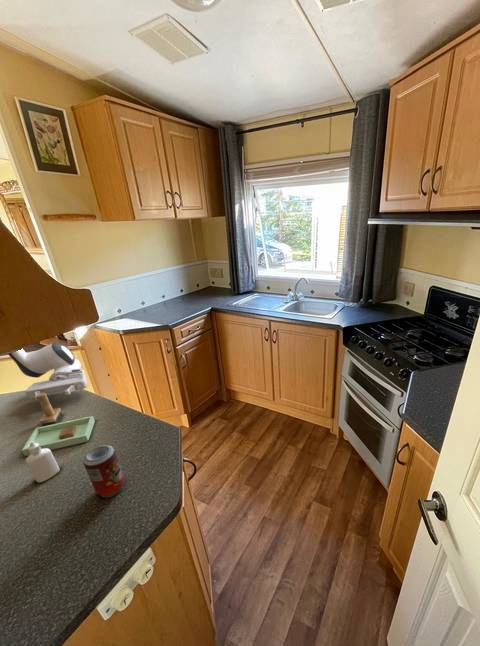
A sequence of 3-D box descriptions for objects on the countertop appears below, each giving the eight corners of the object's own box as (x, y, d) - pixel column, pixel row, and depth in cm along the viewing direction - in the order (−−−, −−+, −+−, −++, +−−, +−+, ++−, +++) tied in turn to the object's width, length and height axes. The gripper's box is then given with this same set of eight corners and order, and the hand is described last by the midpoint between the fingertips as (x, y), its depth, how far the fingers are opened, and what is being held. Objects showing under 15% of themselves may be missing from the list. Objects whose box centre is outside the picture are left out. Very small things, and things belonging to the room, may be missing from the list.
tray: (24, 456, 90) (21, 450, 89) (38, 433, 100) (35, 428, 99) (88, 441, 95) (85, 435, 94) (95, 421, 105) (92, 415, 104)
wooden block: (60, 439, 95) (58, 436, 95) (63, 432, 99) (62, 428, 98) (73, 436, 96) (72, 432, 96) (76, 429, 100) (75, 425, 99)
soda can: (120, 497, 74) (106, 461, 69) (92, 501, 73) (75, 464, 68) (130, 476, 80) (117, 441, 75) (103, 479, 80) (89, 444, 75)
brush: (42, 428, 102) (29, 401, 97) (49, 417, 109) (37, 390, 104) (57, 425, 103) (44, 398, 98) (63, 414, 110) (51, 388, 105)
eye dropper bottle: (37, 474, 83) (20, 441, 78) (60, 466, 85) (45, 433, 80) (34, 484, 79) (16, 451, 74) (59, 476, 81) (42, 443, 76)
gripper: (30, 378, 117) (16, 394, 105) (87, 368, 123) (79, 383, 111) (36, 391, 120) (23, 409, 108) (91, 381, 125) (84, 397, 113)
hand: (52, 395), depth 109 cm, fingers open, 8 cm apart
